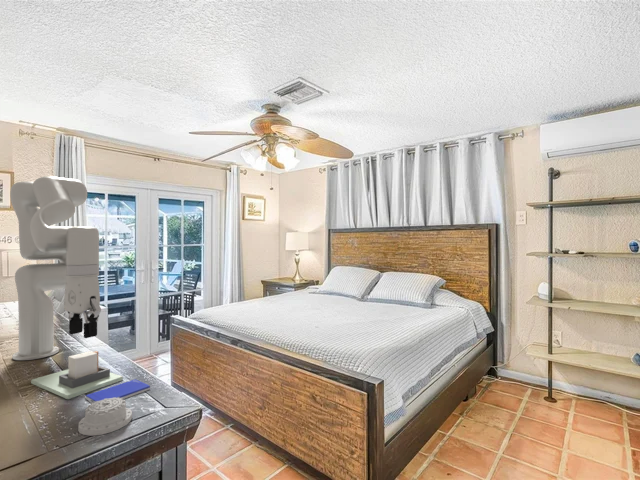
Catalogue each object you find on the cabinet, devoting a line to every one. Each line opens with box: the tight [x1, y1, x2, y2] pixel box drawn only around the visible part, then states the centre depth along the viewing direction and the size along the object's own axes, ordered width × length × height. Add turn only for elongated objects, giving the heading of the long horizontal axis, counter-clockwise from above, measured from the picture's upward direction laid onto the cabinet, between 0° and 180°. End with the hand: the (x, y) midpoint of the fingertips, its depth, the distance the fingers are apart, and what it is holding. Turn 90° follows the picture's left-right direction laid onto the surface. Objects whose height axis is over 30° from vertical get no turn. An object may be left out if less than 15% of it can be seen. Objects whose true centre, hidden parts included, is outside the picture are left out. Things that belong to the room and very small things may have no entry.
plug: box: [67, 350, 99, 379], centre depth 97 cm, size 4×6×7 cm, turn 148°
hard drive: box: [84, 378, 151, 403], centre depth 90 cm, size 2×8×12 cm
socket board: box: [30, 365, 124, 400], centre depth 98 cm, size 20×14×3 cm
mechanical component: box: [77, 397, 133, 437], centre depth 76 cm, size 10×4×10 cm
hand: (83, 334), depth 97 cm, fingers open, 6 cm apart
